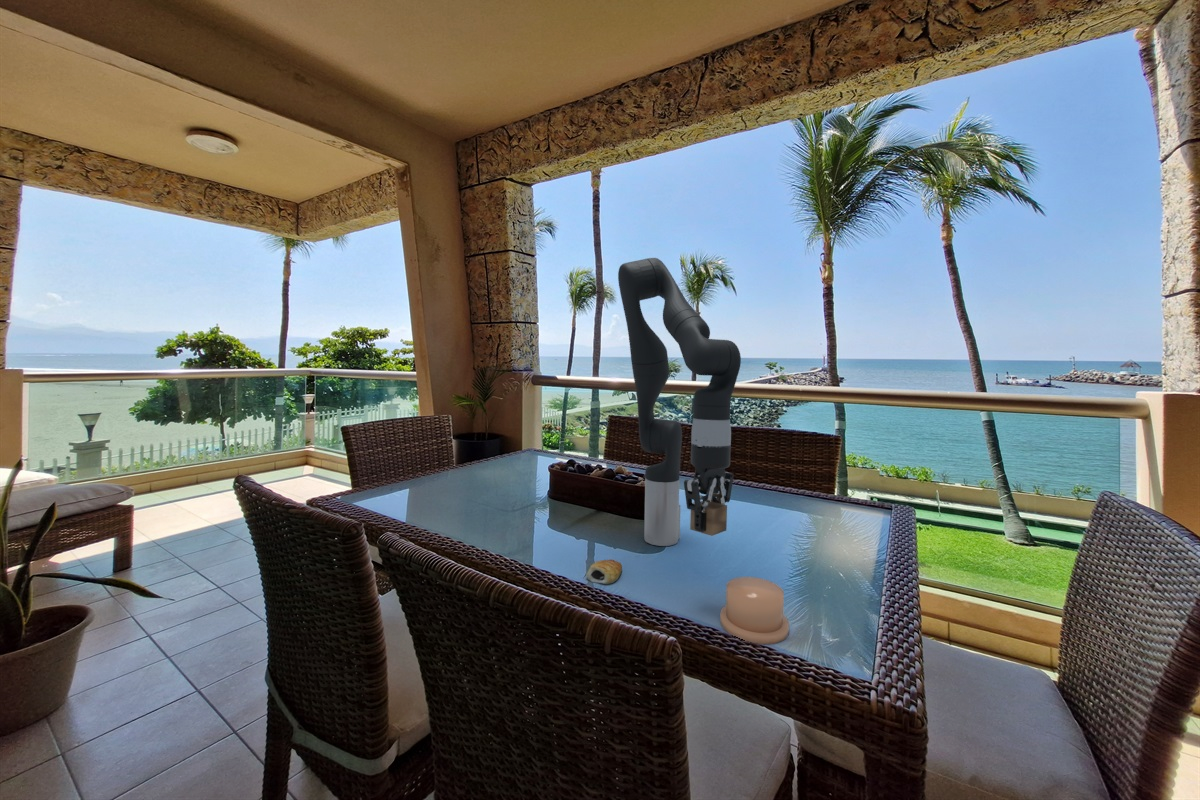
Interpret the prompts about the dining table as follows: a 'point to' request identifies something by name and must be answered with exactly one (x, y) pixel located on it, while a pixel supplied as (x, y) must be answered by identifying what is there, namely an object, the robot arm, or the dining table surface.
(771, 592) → the upside-down peach bowl
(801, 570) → the dining table surface
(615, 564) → the pastry
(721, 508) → the walnut block
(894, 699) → the dining table surface
